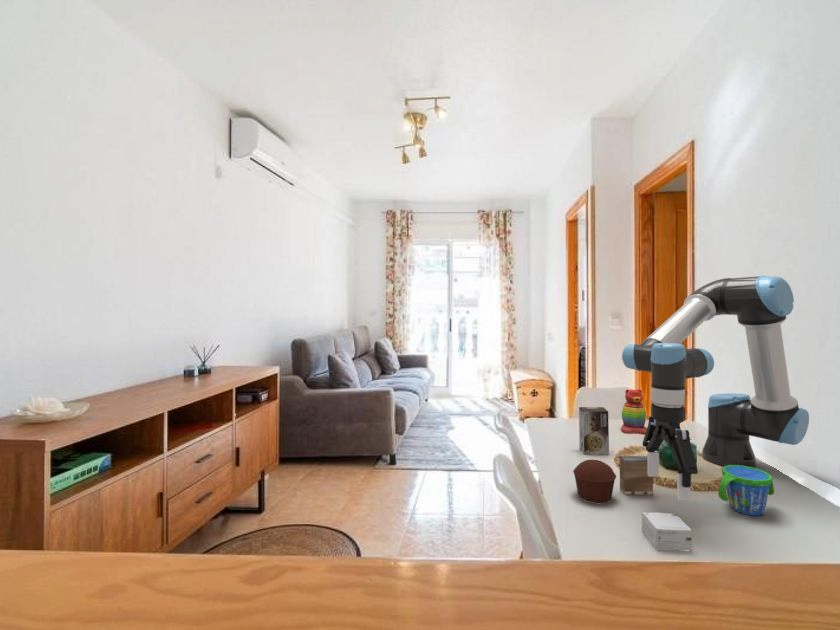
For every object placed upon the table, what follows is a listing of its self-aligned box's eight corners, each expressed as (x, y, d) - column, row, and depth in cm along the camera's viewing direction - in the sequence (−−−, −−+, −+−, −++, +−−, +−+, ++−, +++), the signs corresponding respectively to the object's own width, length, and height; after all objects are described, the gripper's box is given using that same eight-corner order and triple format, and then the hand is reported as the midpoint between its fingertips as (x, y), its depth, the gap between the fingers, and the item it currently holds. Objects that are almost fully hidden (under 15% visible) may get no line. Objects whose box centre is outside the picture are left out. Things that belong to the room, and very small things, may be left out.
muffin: (596, 509, 115) (595, 472, 114) (564, 493, 125) (564, 459, 124) (625, 499, 120) (625, 464, 120) (593, 485, 130) (592, 452, 130)
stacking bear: (623, 433, 181) (623, 391, 180) (617, 426, 191) (617, 387, 190) (651, 434, 178) (651, 392, 178) (644, 428, 188) (644, 387, 188)
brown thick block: (653, 494, 123) (653, 460, 123) (625, 494, 123) (625, 460, 123) (646, 489, 127) (646, 455, 126) (619, 489, 127) (619, 456, 126)
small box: (655, 550, 96) (655, 528, 96) (641, 532, 103) (641, 511, 103) (692, 552, 95) (692, 529, 95) (675, 533, 103) (675, 512, 102)
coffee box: (603, 449, 162) (603, 406, 161) (609, 455, 155) (609, 411, 155) (578, 448, 163) (578, 406, 162) (583, 454, 156) (583, 410, 156)
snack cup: (735, 521, 108) (735, 481, 107) (703, 502, 118) (704, 466, 118) (792, 518, 109) (792, 478, 109) (755, 499, 120) (756, 463, 119)
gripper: (716, 417, 96) (715, 510, 97) (655, 393, 121) (655, 467, 122) (682, 417, 96) (682, 510, 97) (629, 394, 121) (629, 468, 122)
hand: (667, 487), depth 109 cm, fingers open, 13 cm apart
